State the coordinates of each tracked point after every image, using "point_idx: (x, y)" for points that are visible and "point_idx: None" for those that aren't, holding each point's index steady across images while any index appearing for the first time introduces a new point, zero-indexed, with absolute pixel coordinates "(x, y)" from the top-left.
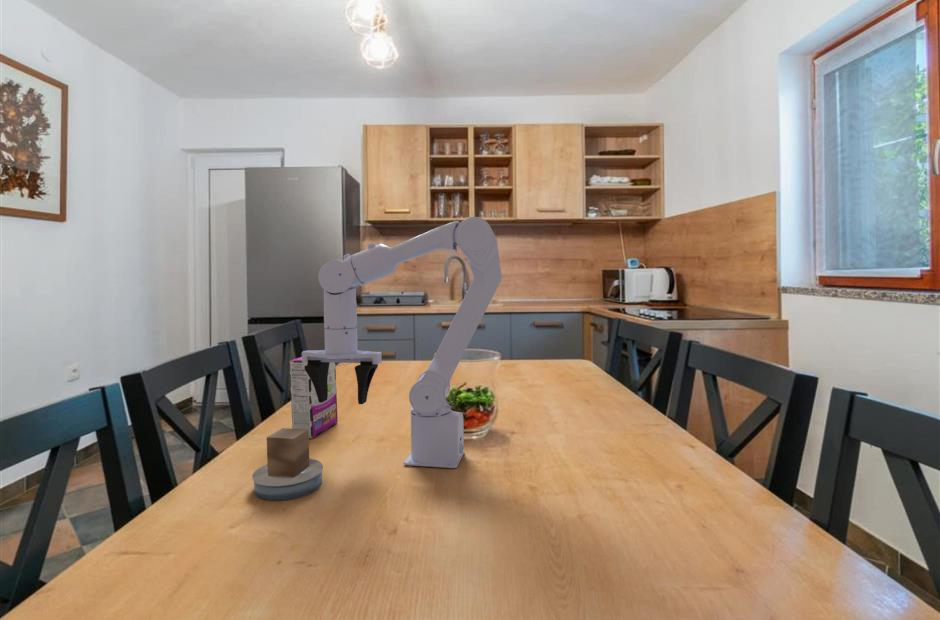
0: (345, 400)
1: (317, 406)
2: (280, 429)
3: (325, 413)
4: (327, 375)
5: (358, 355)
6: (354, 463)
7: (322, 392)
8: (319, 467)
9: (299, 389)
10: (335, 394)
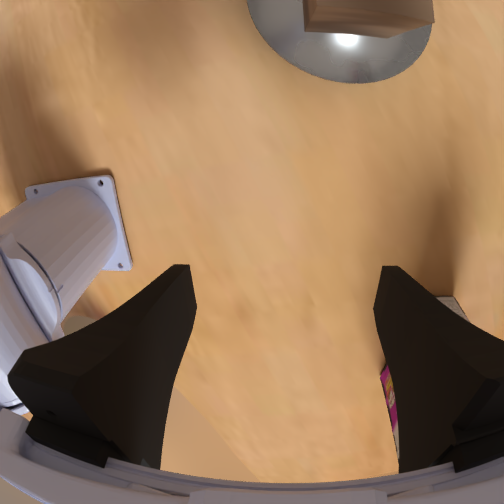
0: (388, 445)
1: None
2: (432, 7)
3: None
4: (398, 412)
5: (50, 490)
6: (237, 162)
7: (395, 305)
8: (264, 23)
9: None
10: (393, 427)
